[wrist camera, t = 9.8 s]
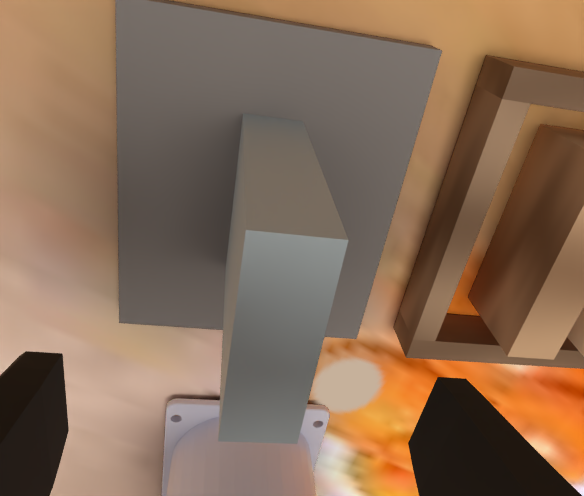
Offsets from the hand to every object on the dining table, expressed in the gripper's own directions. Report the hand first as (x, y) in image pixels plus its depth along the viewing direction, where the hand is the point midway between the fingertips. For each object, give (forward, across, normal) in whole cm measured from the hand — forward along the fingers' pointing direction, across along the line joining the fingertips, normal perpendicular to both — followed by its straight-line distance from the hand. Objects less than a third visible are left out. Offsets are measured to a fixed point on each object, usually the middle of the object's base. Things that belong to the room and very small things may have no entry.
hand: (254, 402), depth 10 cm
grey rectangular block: (+9, 0, 0) cm, 9 cm away
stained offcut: (+11, -12, 0) cm, 16 cm away
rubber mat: (+10, 0, 0) cm, 10 cm away
